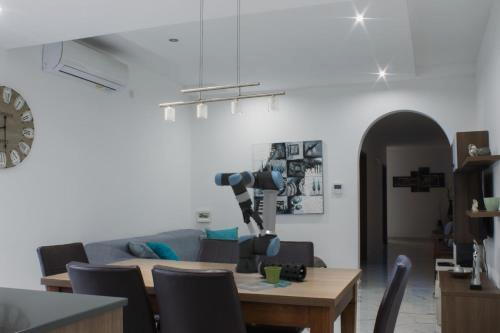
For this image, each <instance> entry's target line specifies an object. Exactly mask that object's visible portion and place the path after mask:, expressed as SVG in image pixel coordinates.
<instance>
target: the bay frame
mask: <svg viewBox="0 0 500 333" xmlns="http://www.w3.org/2000/svg"><path fill="white" fill-rule="evenodd" d="M291 285H292V282H291V281H289V280H283V279H279V283H278V284H267V279H264V280H258V281H257V280H256V281H251V282H245V283H238V284H236V288H239V289H242V290H247V291H253V292H256V291H264V290H270V289H274V288H280V287H281V288H286V287H287V286H291ZM254 286H255V287H254Z"/></svg>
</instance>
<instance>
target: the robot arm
mask: <svg viewBox="0 0 500 333" xmlns="http://www.w3.org/2000/svg"><path fill="white" fill-rule="evenodd" d="M214 183H215V185H216V186H218V187H219V186H220V187H231V189H232V191H233V194H234V197H235V200H236V201H237V202H238V206H239V208H240V211H241V214H242V220H243V223H245V224H246V226H247V229H248V231H249V233H250V234H247V235H242V236H241V235H240V236H238V238H237V239H238V240H237V241H238V243H237V251H238V252H237V253H238V256H237V257H238V259H237V264H236V267H235V273H239V274H255V273H259V272H258V265H259V263H258V260H257V256H258V257H259V256H262V257H275V256H276V255H278V253H279V251H280V248H281V240H280V238H279V237H278V234H277V232H276V221H277V220H276V218H277V217H276V216H277V201H278V195H279V194H280V190H283V189H284V178H283V175H282V173H281V172H280V171H278V170H269V171H268V170H267V171H254V172H251V171H249V170H244V171H242V172H220V173H216V174H215V175H214ZM248 189H255V190H261V193H263V198H262V199H263V201H262V202H263V203H262V214H261V215H262V216H260V215H259V212H257V210H256V207H254V206H253V207H252V205H253V201H252V199H251V195H250V194H249V193H250V192H249V191H248ZM251 218H252V220H253V221H254V222H255V223H256V226H257V228H258V231H259V233H258V236H257V234H255V233H256V231H255V229H254V226H253V224H252V220H251Z"/></svg>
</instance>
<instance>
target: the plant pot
mask: <svg viewBox="0 0 500 333" xmlns="http://www.w3.org/2000/svg"><path fill="white" fill-rule="evenodd" d="M264 269H265V272H266V277H265V278H266V280H267V284H278V283H279V280H280V278H279V275H280V271H281V268H280V267H265V268H264Z"/></svg>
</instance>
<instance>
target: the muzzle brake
mask: <svg viewBox="0 0 500 333" xmlns="http://www.w3.org/2000/svg"><path fill="white" fill-rule="evenodd" d="M265 267H280V268H281V271H280V275H279V279H281V280H283V281H294V282H304V280H305V279H306V277H307V275H308V271H307V265H306V264H305V263H297V262H296V263H295V262H282V261H273V260H268V259H267V260H266V259H264V260H261V261H260V262H259V263H258V272H257V273H258V274H259V275H260V276H262V277H263V278H266V272H265V269H264V268H265Z"/></svg>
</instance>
